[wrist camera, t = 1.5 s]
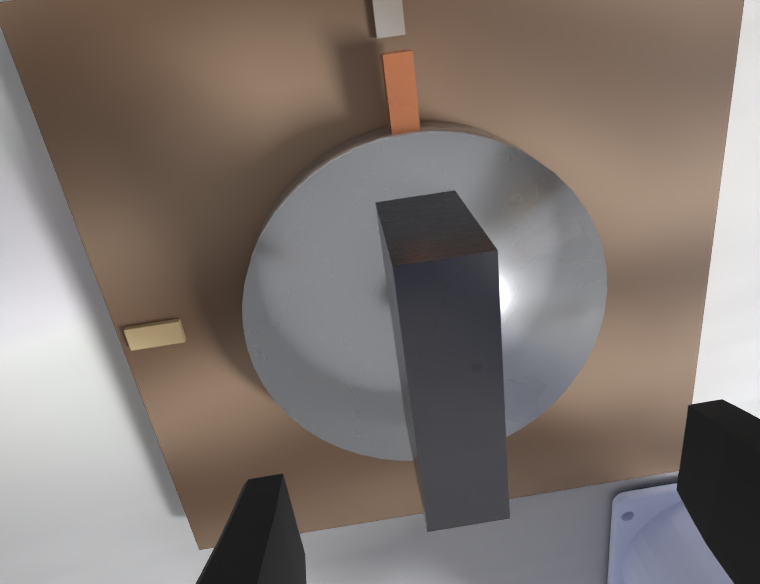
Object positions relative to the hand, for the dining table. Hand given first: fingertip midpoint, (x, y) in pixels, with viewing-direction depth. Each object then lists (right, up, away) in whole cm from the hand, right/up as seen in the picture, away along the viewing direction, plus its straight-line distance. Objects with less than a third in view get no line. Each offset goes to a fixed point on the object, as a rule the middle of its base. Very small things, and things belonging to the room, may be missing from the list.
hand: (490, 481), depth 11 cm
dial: (-1, +4, +7) cm, 8 cm away
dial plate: (-1, +4, +9) cm, 10 cm away
